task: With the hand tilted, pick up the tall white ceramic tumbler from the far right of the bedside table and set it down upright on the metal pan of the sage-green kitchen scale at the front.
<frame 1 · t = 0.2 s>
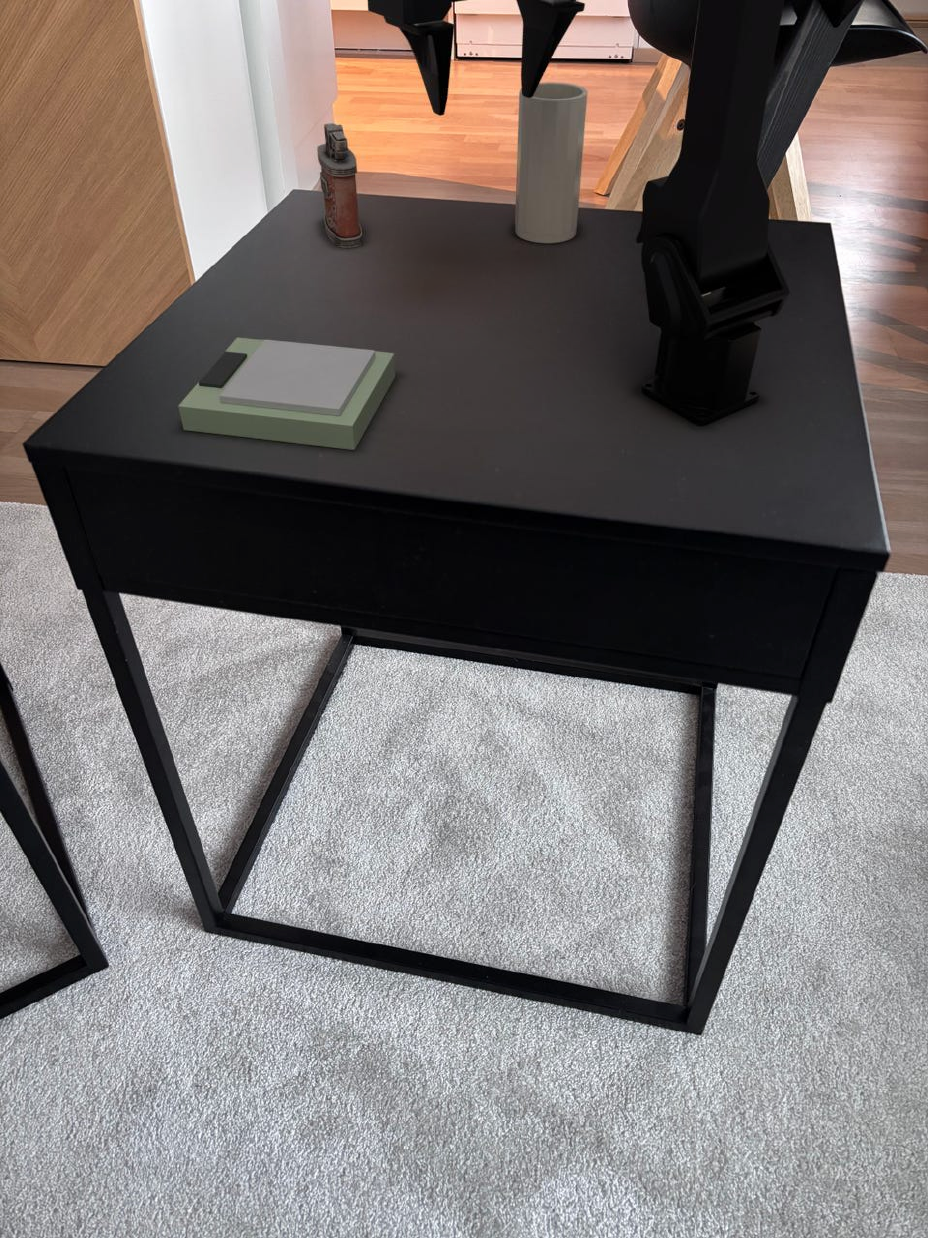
hand: (484, 105, 79), 14 cm above the table, tool pointing down, fingers open, 9 cm apart
tumbler: (545, 231, 97), on the table
scale: (293, 402, 71), on the table
lighter: (343, 234, 97), on the table
grandmother figurine: (678, 296, 86), on the table
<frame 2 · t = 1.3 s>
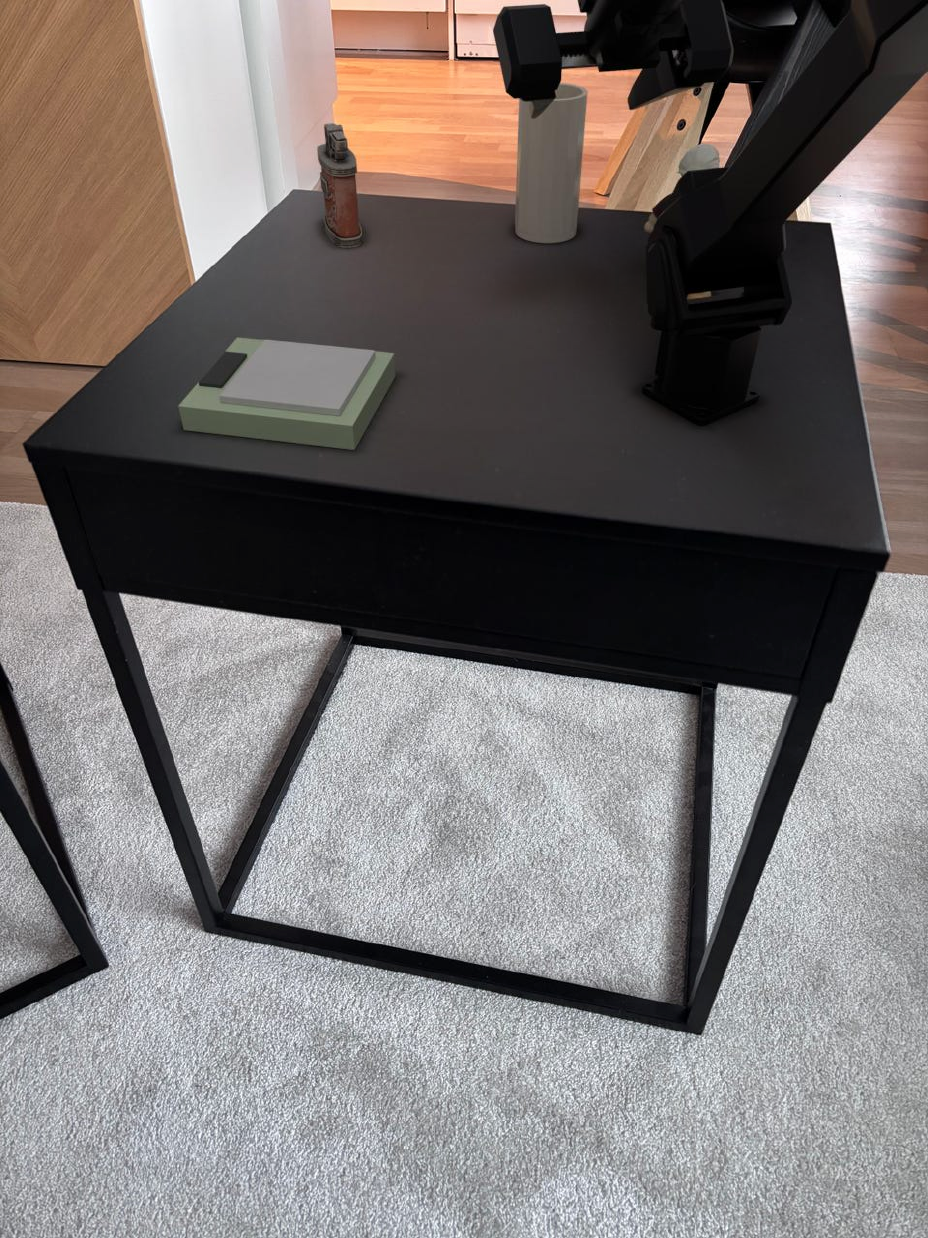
hand: (581, 108, 82), 13 cm above the table, tool tilted 45°, fingers open, 9 cm apart
nothing on the table moved.
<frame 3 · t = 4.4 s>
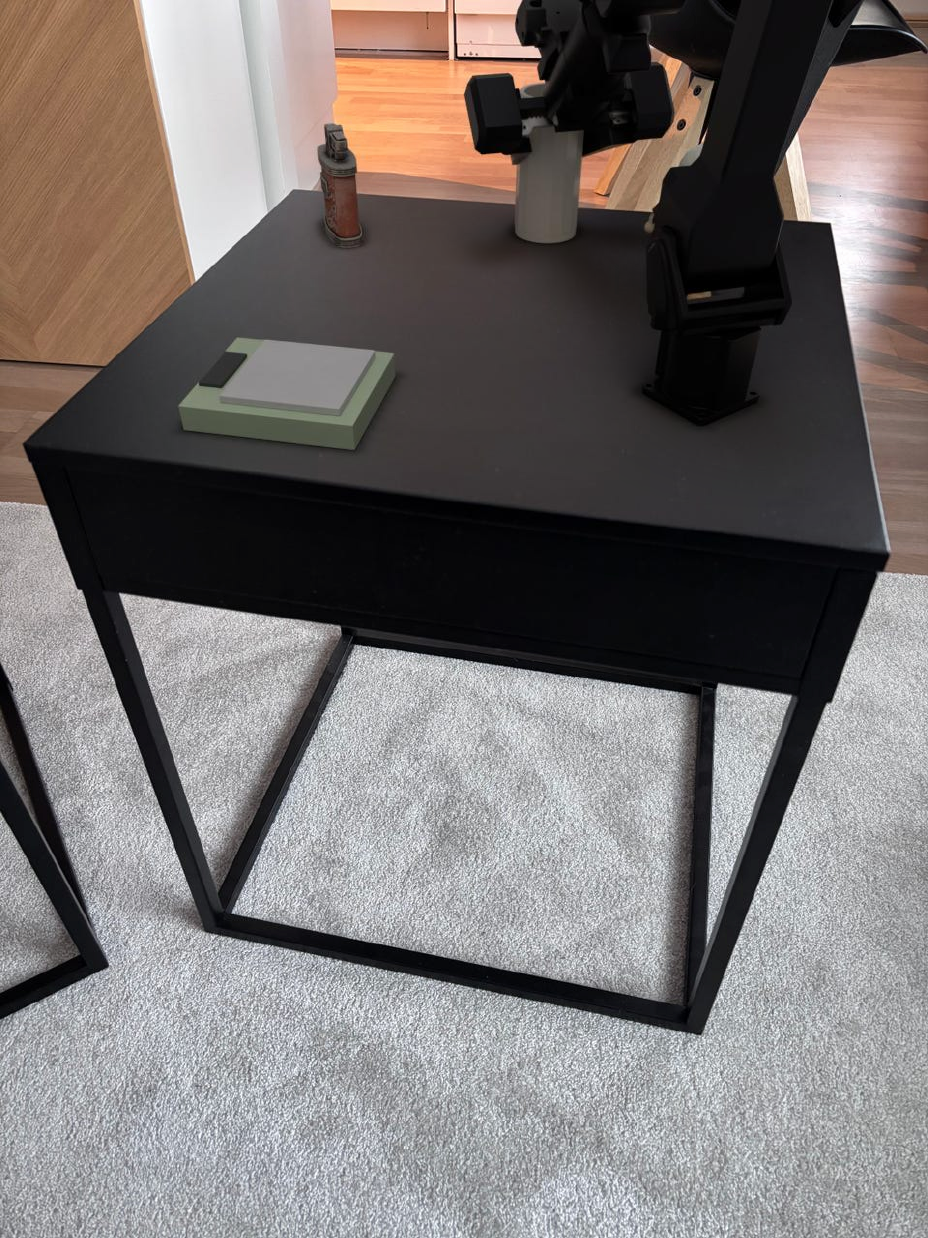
hand: (545, 156, 93), 7 cm above the table, tool tilted 45°, fingers closed on tumbler, 6 cm apart
tumbler: (545, 231, 97), on the table, touching gripper
everything else where it was.
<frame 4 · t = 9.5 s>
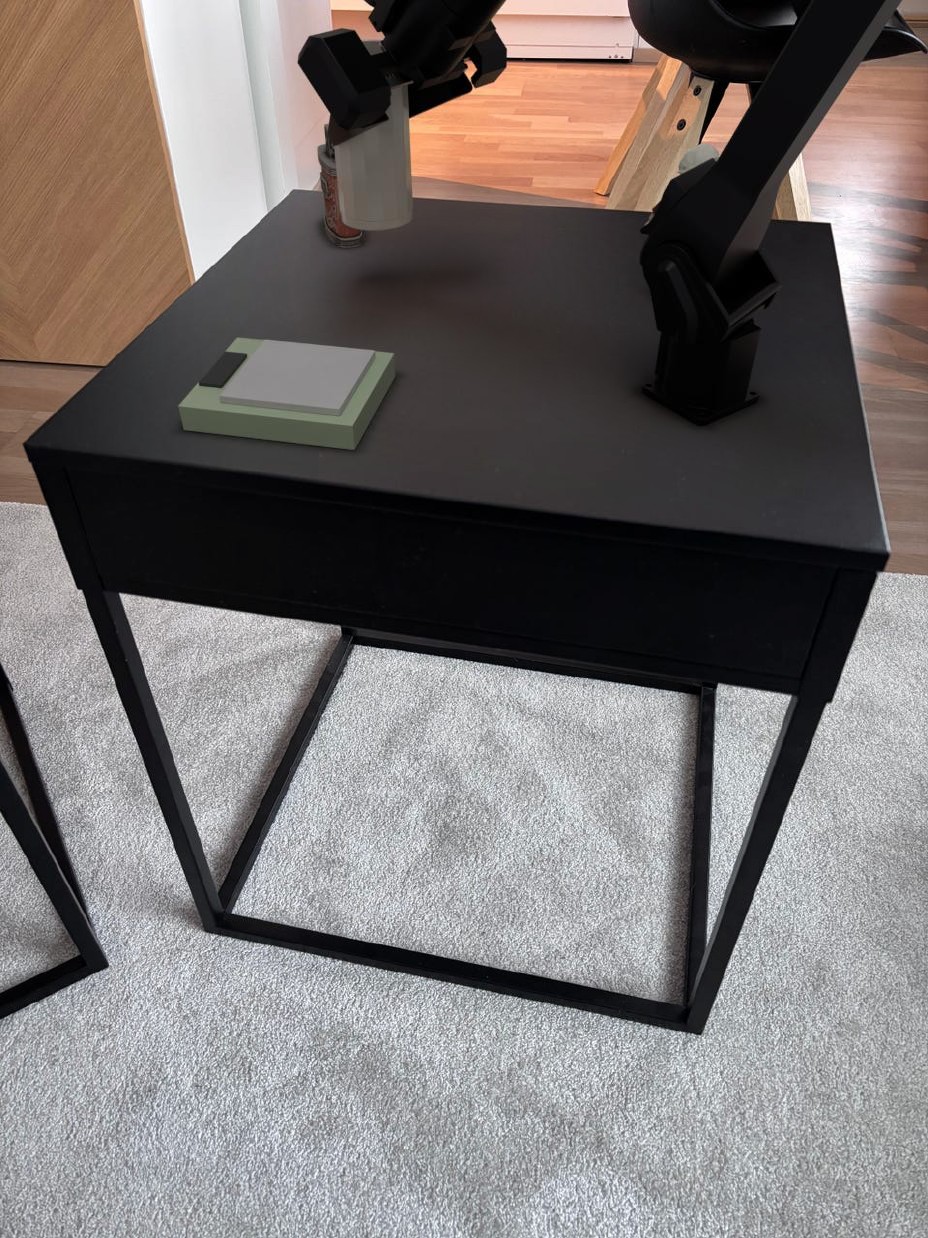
hand: (359, 130, 79), 13 cm above the table, tool tilted 45°, fingers closed on tumbler, 6 cm apart
tumbler: (377, 217, 83), point 6 cm above the table, touching gripper
everything else where it was.
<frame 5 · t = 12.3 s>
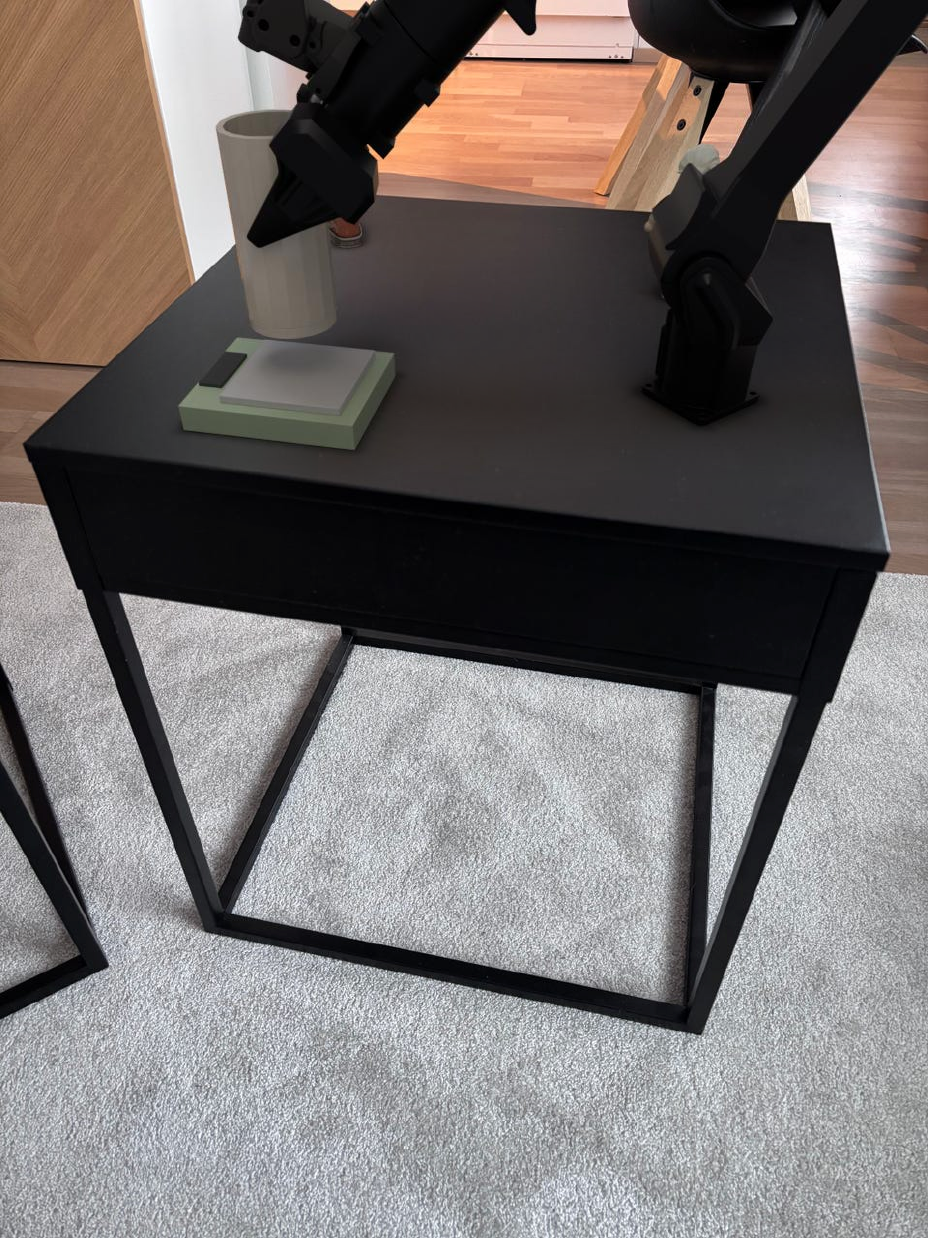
hand: (261, 223, 63), 13 cm above the table, tool tilted 45°, fingers closed on tumbler, 6 cm apart
tumbler: (293, 319, 68), point 6 cm above the table, touching gripper
everything else where it was.
when the fingers open (9 cm above the table, at t = 14.6 s): tumbler stays where it is, resting on scale.
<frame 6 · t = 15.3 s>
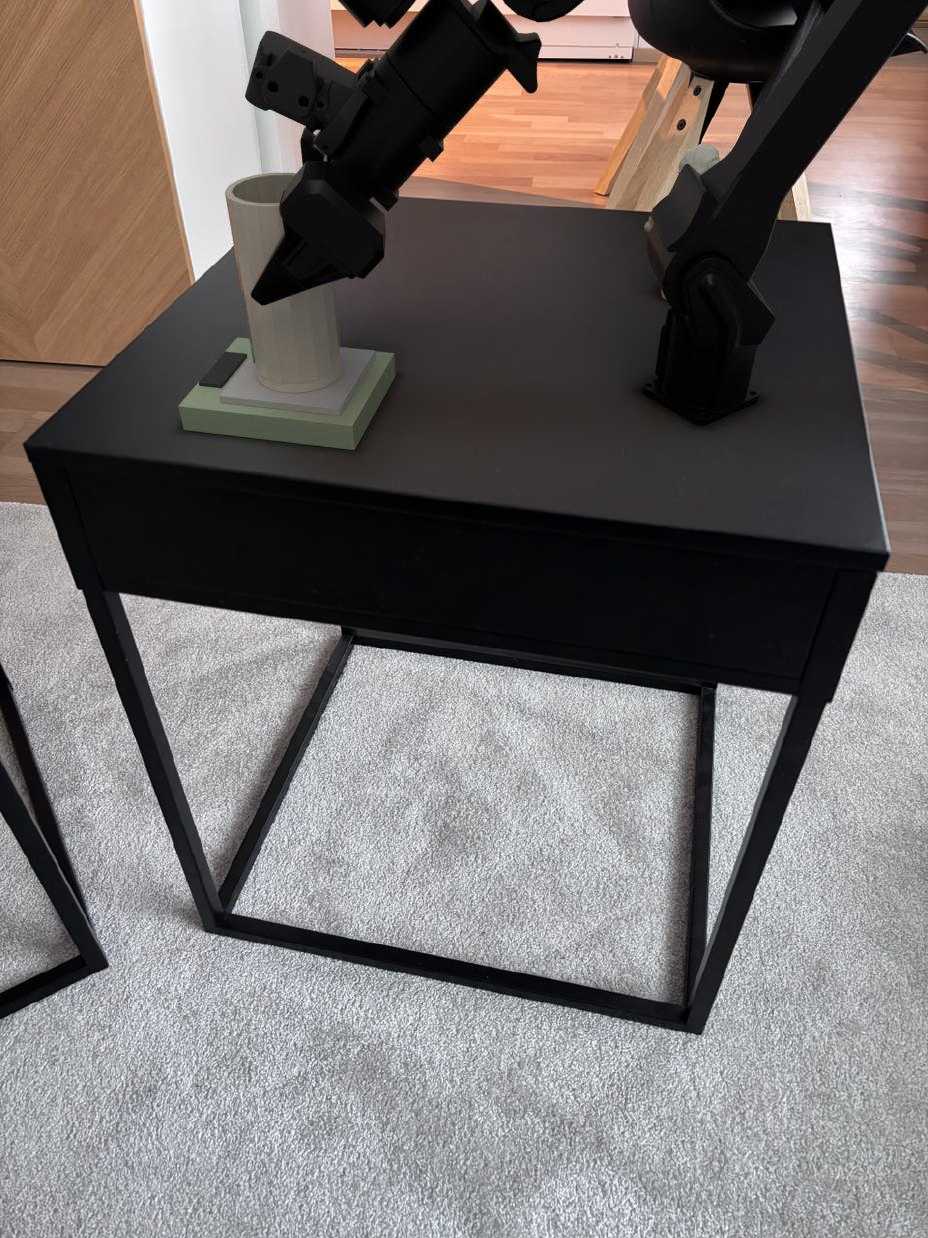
hand: (265, 271, 64), 10 cm above the table, tool tilted 45°, fingers open, 9 cm apart
tumbler: (299, 372, 70), point 3 cm above the table, touching scale
everything else where it was.
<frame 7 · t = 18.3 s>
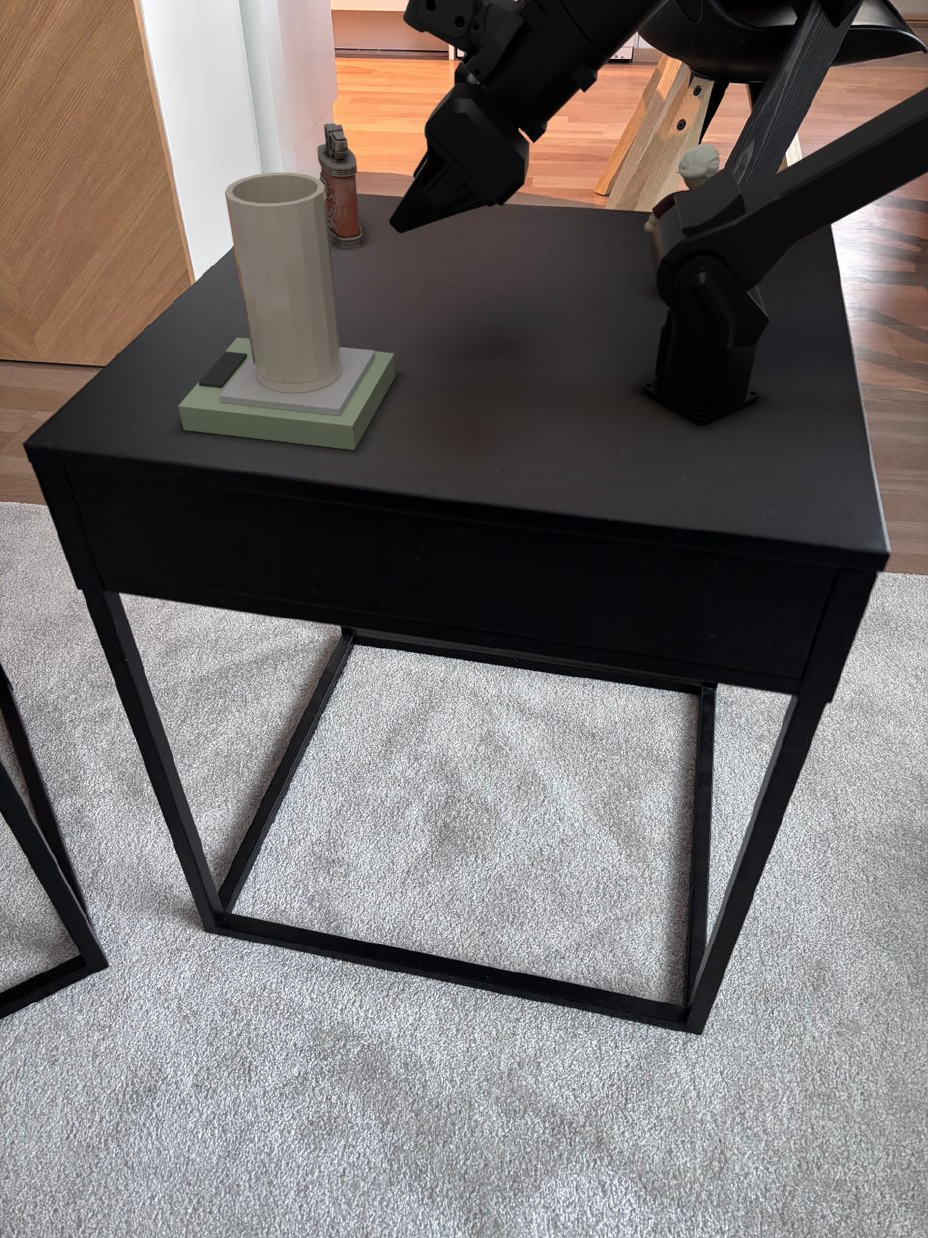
hand: (406, 202, 65), 14 cm above the table, tool tilted 45°, fingers open, 9 cm apart
nothing on the table moved.
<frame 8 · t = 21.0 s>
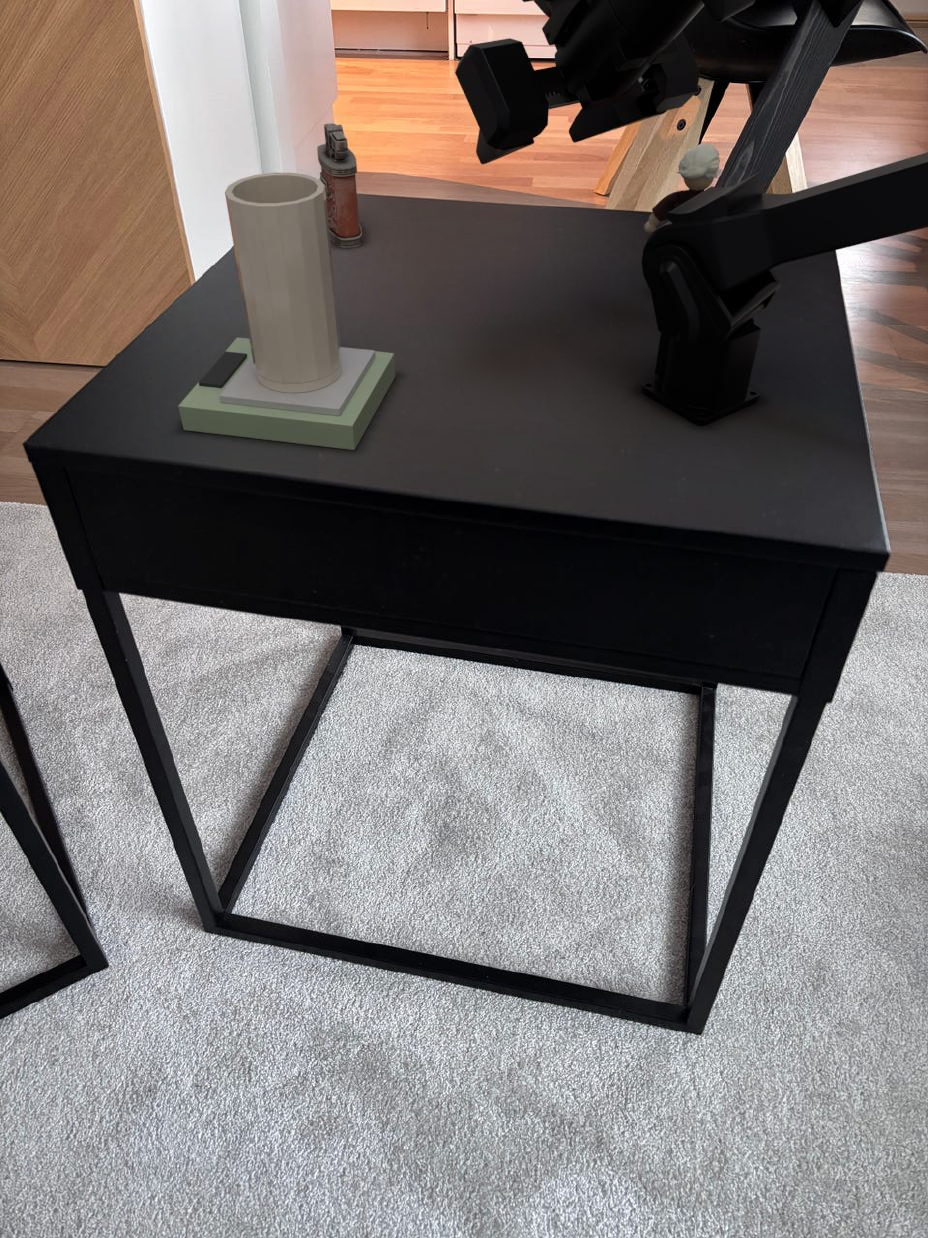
hand: (527, 146, 74), 14 cm above the table, tool tilted 45°, fingers open, 9 cm apart
nothing on the table moved.
at the end: tumbler 0.1 cm off-centre on the scale, point 2.6 cm above the scale's base; tumbler tilted 0°; the gripper is holding nothing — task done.
